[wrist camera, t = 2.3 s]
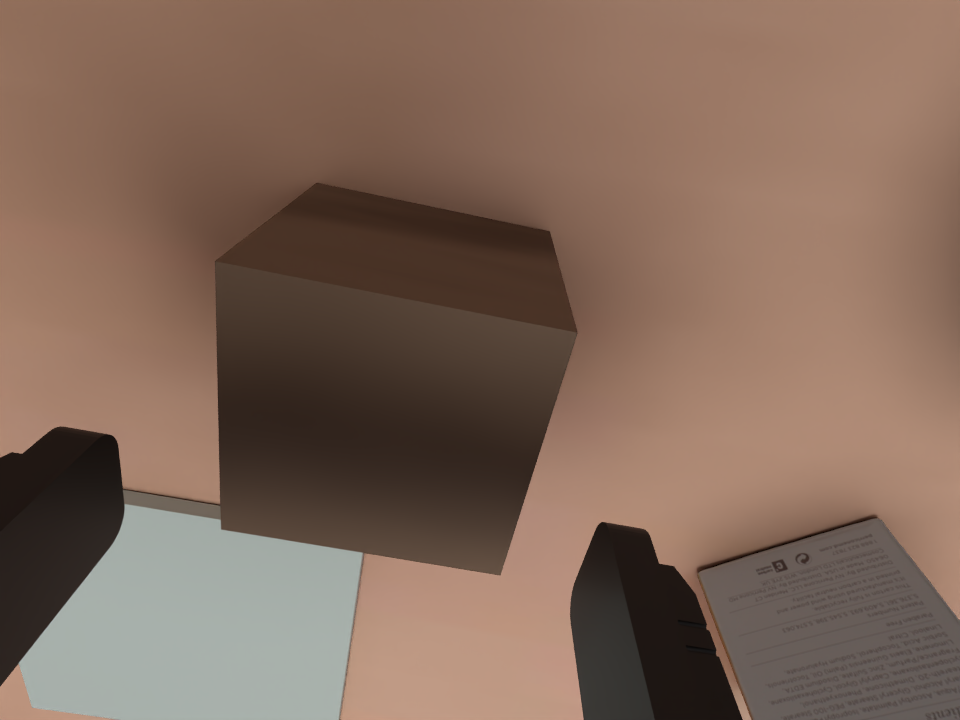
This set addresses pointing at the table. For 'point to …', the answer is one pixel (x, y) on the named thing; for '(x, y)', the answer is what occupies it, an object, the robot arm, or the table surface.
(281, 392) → the cube
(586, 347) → the table surface
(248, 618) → the pad
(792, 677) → the small box
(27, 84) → the table surface
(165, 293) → the table surface
